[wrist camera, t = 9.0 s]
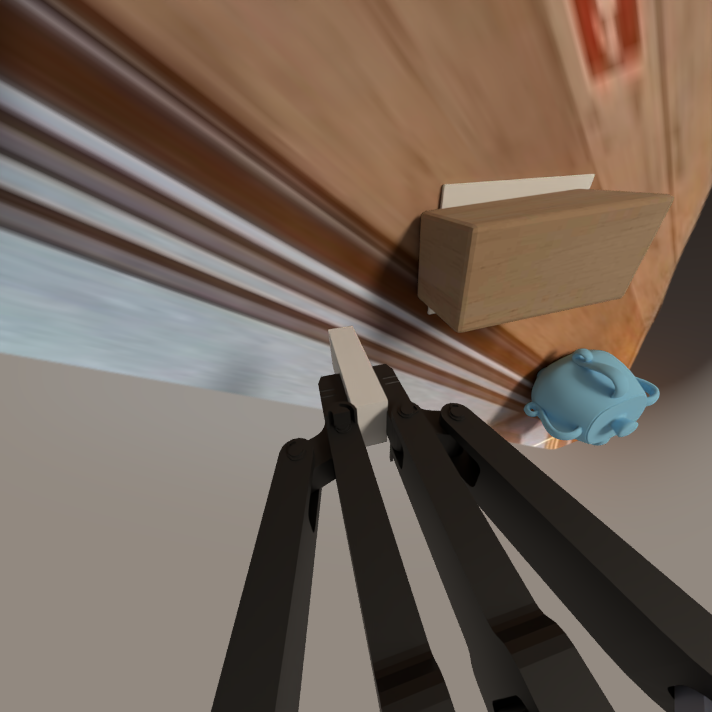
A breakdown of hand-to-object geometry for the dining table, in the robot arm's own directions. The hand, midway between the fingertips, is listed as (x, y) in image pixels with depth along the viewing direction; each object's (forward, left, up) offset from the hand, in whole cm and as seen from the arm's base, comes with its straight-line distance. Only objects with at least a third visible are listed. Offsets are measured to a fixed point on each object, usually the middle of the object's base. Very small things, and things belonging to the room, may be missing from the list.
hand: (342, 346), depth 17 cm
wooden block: (0, +12, -11) cm, 16 cm away
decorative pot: (+26, +44, -17) cm, 54 cm away
